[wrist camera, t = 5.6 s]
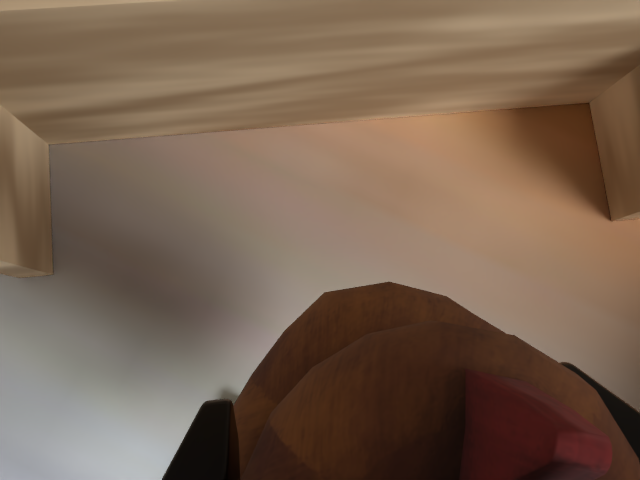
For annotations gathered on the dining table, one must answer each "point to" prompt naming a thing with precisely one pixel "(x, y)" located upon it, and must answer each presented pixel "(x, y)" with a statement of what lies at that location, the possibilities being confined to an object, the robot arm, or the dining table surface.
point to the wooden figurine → (419, 399)
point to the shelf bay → (295, 78)
